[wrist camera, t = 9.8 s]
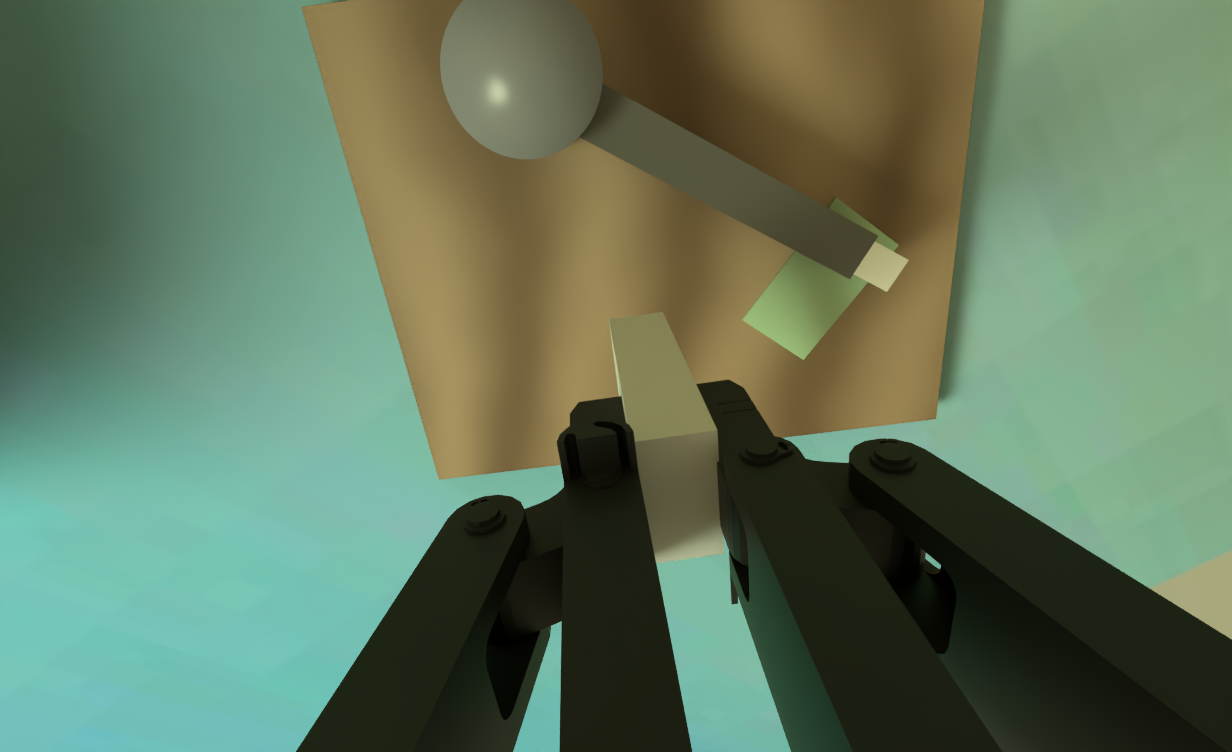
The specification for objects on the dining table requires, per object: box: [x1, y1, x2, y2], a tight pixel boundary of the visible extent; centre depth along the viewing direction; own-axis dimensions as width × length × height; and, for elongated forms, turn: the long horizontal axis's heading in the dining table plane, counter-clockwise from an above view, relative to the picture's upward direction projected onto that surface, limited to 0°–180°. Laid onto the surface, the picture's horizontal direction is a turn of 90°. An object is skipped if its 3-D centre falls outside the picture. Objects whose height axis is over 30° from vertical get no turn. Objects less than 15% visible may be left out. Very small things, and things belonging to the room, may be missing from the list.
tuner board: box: [302, 0, 985, 479], centre depth 22 cm, size 22×18×1 cm
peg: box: [440, 0, 909, 292], centre depth 19 cm, size 16×4×4 cm, turn 64°
